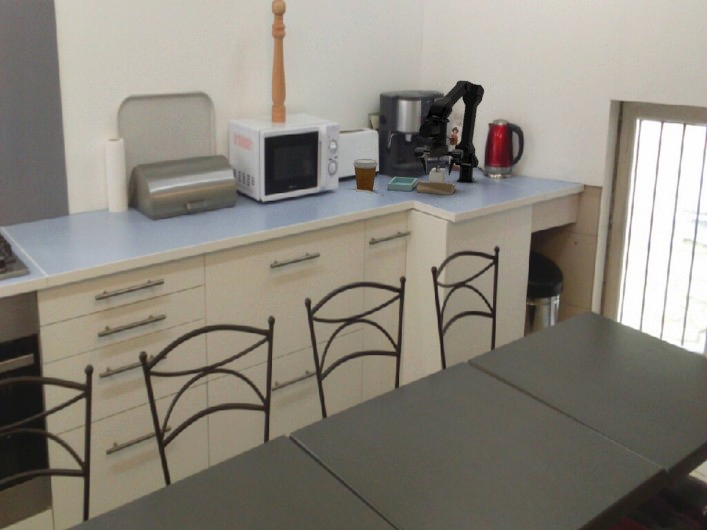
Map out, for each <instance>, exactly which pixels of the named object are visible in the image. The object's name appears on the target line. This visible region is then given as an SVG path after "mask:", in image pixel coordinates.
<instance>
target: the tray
mask: <svg viewBox="0 0 707 530" xmlns="http://www.w3.org/2000/svg"><path fill="white" fill-rule="evenodd" d="M418 180H419V179H418V177H406V176H405V177H403V176H402V177H401V176H394V177H393V178H392V179H391V180H390V181H389V182H388V183H387V191H396V192H397V191H399V192H413V190H414V189H415V188H416V187H417V184H418V182H419V181H418Z"/></svg>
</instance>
